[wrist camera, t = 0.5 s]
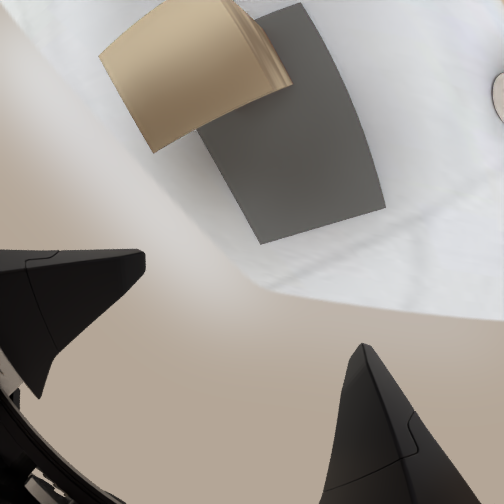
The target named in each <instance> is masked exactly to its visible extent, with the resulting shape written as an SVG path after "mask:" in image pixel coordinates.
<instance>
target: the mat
mask: <svg viewBox="0 0 504 504" xmlns="http://www.w3.org/2000/svg"><path fill="white" fill-rule="evenodd" d="M254 21H255V22H256V23H257V24H258V25H259V26H260V27H261V28H262V29H263V30H264V32H265V33H266V35H267V37H268V38H269V40H270V42H271V44H272V45H273V47H274V49H275V51H276V52H277V54H278V56H279V58H280V60H281V61H282V63H283V65H284V67H285V69H286V71H287V73H288V75H289V77H290V79H291V81H292V83H293V85H290V86H288V87H285V88H283V89H280V90H278V91H275V92H273V93H270V94H268V95H266V96H263V97H261V98H259V99H257V100H254V101H252V102H250V103H248V104H246V105H244V106H241V107H239V108H237V109H235V110H233V111H231V112H229V113H227V114H225V115H223V116H221V117H219V118H216V119H214V120H212V121H211V122H209V123H207V124H205V125H203V126H201V127H199V128H197V131H198V133H199V135H200V136H201V138H202V140H203V142H204V144H205V145H206V147H207V149H208V151H209V152H210V154H211V156H212V158H213V160H214V161H215V163H216V165H217V167H218V168H219V170H220V172H221V174H222V176H223V177H224V179H225V181H226V183H227V185H228V186H229V188H230V190H231V192H232V194H233V195H234V197H235V199H236V201H237V203H238V204H239V206H240V208H241V210H242V212H243V214H244V215H245V217H246V219H247V221H248V223H249V224H250V226H251V228H252V230H253V232H254V234H255V235H256V237H257V239H258V241H259V243H260V245H261V244H265V243H268V242H271V241H275V240H278V239H282V238H285V237H288V236H292V235H295V234H298V233H302V232H305V231H309V230H312V229H315V228H319V227H322V226H325V225H329V224H332V223H336V222H339V221H342V220H346V219H349V218H353V217H356V216H359V215H363V214H366V213H370V212H373V211H377V210H380V209H383V208H386V206H385V202H384V198H383V194H382V190H381V187H380V183H379V179H378V176H377V172H376V169H375V166H374V162H373V159H372V156H371V153H370V150H369V147H368V144H367V141H366V138H365V135H364V132H363V129H362V127H361V124H360V121H359V119H358V116H357V114H356V111H355V108H354V106H353V103H352V101H351V99H350V96H349V94H348V91H347V89H346V87H345V85H344V82H343V80H342V78H341V76H340V74H339V71H338V69H337V67H336V65H335V63H334V61H333V59H332V57H331V55H330V53H329V51H328V49H327V47H326V45H325V43H324V42H323V40H322V38H321V36H320V34H319V32H318V31H317V29H316V27H315V25H314V24H313V22H312V20H311V19H310V17H309V15H308V14H307V12H306V10H305V9H304V7H303V6H302V4H301V3H298V4H295V5H292V6H289V7H286V8H283V9H281V10H278V11H275V12H273V13H270V14H268V15H265V16H263V17H261V18H258V19H256V20H254Z"/></svg>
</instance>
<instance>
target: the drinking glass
mask: <svg viewBox="0 0 504 504" xmlns="http://www.w3.org/2000/svg"><path fill="white" fill-rule="evenodd" d="M493 100H494V105H495V108H496V111H497V113H498V115H499V117H500V118H501V120H502V121H503V122H504V73H502V74H500V75H499V76H498V77H497V78H496V80H495V82H494V86H493Z"/></svg>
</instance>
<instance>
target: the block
mask: <svg viewBox="0 0 504 504" xmlns="http://www.w3.org/2000/svg"><path fill="white" fill-rule="evenodd" d="M99 58H100V60H101V62H102V64H103V66H104V67H105V69H106V71H107V73H108V75H109V77H110V78H111V80H112V82H113V84H114V86H115V88H116V89H117V91H118V93H119V95H120V97H121V98H122V100H123V102H124V104H125V105H126V107H127V109H128V111H129V112H130V114H131V116H132V118H133V119H134V121H135V123H136V125H137V126H138V128H139V130H140V132H141V133H142V135H143V137H144V138H145V140H146V142H147V143H148V145H149V147H150V149H151V150H152V152H153V153H155V152H157V151H158V150H160V149H162V148H163V147H165V146H167V145H168V144H170V143H172V142H174V141H175V140H177V139H179V138H181V137H182V136H184V135H186V134H188V133H190V132H191V131H193V130H195V129H197V128H199V127H201V126H203V125H205V124H207V123H209V122H211V121H212V120H214V119H216V118H219V117H221V116H223V115H225V114H227V113H229V112H231V111H233V110H235V109H237V108H239V107H241V106H244V105H246V104H248V103H250V102H252V101H254V100H257V99H259V98H261V97H263V96H266V95H268V94H270V93H273V92H275V91H278V90H280V89H283V88H285V87H288V86H290V85H293V83H292V81H291V79H290V77H289V75H288V73H287V71H286V69H285V67H284V65H283V63H282V61H281V60H280V58H279V56H278V54H277V52H276V51H275V49H274V47H273V45H272V44H271V42H270V40H269V38H268V37H267V35H266V33H265V32H264V30H263V29H262V28H261V27H260V26H259V25H258V24H257V23H256V22H255V21H254V20H253V19H252V18H251V17H250V16H249V15H248V14H247V13H246V12H245V11H244V10H243V9H242V8H240V7H239V6H238V5H237V4H236V3H235V2H234V1H233V0H166V1H164V2H163V3H161V4H160V5H159V6H157V7H156V8H154V9H153V10H152V11H150V12H149V13H148V14H146V15H145V16H144V17H142V18H141V19H140V20H138V21H137V22H136V23H135V24H133V25H132V26H131V27H130V28H129V29H127V30H126V31H125V32H124V33H123V34H122V35H120V36H119V37H118V38H117V39H116V40H115V41H114V42H113V43H112V44H110V45H109V46H108V47H107V48H106V49H105V50H104V51H103V52H102V53H101V54H100V55H99Z"/></svg>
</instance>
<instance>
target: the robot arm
mask: <svg viewBox="0 0 504 504" xmlns="http://www.w3.org/2000/svg"><path fill="white" fill-rule="evenodd" d="M145 262H146V261H145V253H144V252H143V251H141V250H139V249H104V250H63V251H59V250H51V251H35V250H0V504H126V503H125V502H124V501H122V500H120V499H119V498H117V497H115V496H114V495H112V494H110V493H108V492H106V491H103V490H102V489H100V488H99V487H98V486H96V485H95V484H94V483H92V482H91V481H90V480H89V479H87V478H86V477H85V476H84V475H82V474H81V473H80V472H79V471H78V470H76V469H75V468H74V467H73V466H72V465H70V464H69V462H67V461H66V460H65V459H64V458H63V457H62V456H61V455H60V454H59V453H57V451H56V450H54V448H53V447H52V446H51V445H50V444H49V443H48V442H47V441H46V440H45V439H44V438H43V437H42V436H41V435H40V434H39V433H38V432H37V431H36V430H35V428H33V426H32V425H31V424H30V423H29V422H28V420H27V419H26V418H25V417H24V416H23V414H22V413H21V412H20V390H19V388H18V387H19V386H20V385H21V384H22V383H23V382H24V383H25V384H26V386H27V387H28V388H29V389H30V390H31V392H32V393H33V394H34V395H35V396H36V397H37V398H38V399H40V398H41V396H42V392H43V389H44V386H45V382H46V379H47V376H48V373H49V370H50V367H51V364H52V362H53V360H54V358H55V357H56V355H58V353H59V352H61V351H62V350H63V349H64V348H65V347H66V346H67V345H68V344H69V343H70V342H71V341H72V340H74V339H75V338H76V337H77V336H78V335H79V334H80V333H81V332H82V331H83V330H85V328H87V327H88V326H89V325H90V324H91V323H92V322H93V321H95V320H96V319H97V318H98V317H99V316H100V315H101V314H103V313H104V312H105V311H106V310H107V309H108V308H109V307H110V306H112V305H113V304H114V303H115V302H116V301H117V300H119V299H120V298H121V297H122V296H123V295H124V294H125V293H126V292H127V291H128V290H129V289H130V288H131V287H132V286H133V285H134V284H135V283H136V282H137V280H139V278H140V277H141V276H142V275H143V274H144V272H145V269H146V263H145ZM35 468H37V469H38V470H40V471H41V472H42V473H43V476H44V477H45V478H47V479H48V480H50V481H52V482H53V483H54V484H53V486H54V487H56V488H57V489H59V490H61V491H62V492H63V493H65V494H64V496H66V497H63V496H61V495H59V494H58V493H56V492H55V491H54V489H55V488H54V487H53V486H52V485H50V484H49V483H47V482H46V481H44V480H43V479H40V478H38V477H36V476H35V475H33V474H32V473H31V472H32V471H33V470H34V469H35ZM319 504H481V503H480V501H479V500H478V499H477V497H476V496H475V494H474V493H473V491H472V490H471V488H470V487H469V486H468V484H467V483H466V481H465V480H464V479H463V477H462V476H461V475H460V473H459V472H458V470H457V469H456V468H455V466H454V465H453V463H452V462H451V461H450V459H449V458H448V456H447V455H446V454H445V452H444V451H443V450H442V448H441V447H440V446H439V444H438V443H437V442H436V440H435V439H434V438H433V436H432V435H431V434H430V432H429V431H428V429H427V428H426V427H425V425H424V423H423V422H422V421H421V419H420V417H419V416H418V414H417V413H416V411H414V409H413V407H412V405H411V404H410V402H409V401H408V399H407V398H406V396H405V395H404V394H403V392H402V390H401V389H400V387H399V386H398V384H397V383H396V381H395V380H394V378H393V377H392V375H391V374H390V372H389V371H388V369H387V368H386V367H385V365H384V364H383V362H382V361H381V359H380V358H379V356H378V355H377V353H376V352H375V351H374V349H373V348H372V346H370V345H367V344H364V343H361V344H360V345H359V346H358V348H357V349H356V350H355V352H354V353H353V355H352V356H351V358H350V360H349V363H348V367H347V371H346V375H345V380H344V383H343V388H342V391H341V398H340V404H339V412H338V418H337V425H336V432H335V437H334V443H333V448H332V454H331V459H330V463H329V468H328V473H327V477H326V481H325V485H324V490H323V493H322V497H321V500H320V502H319Z"/></svg>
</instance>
